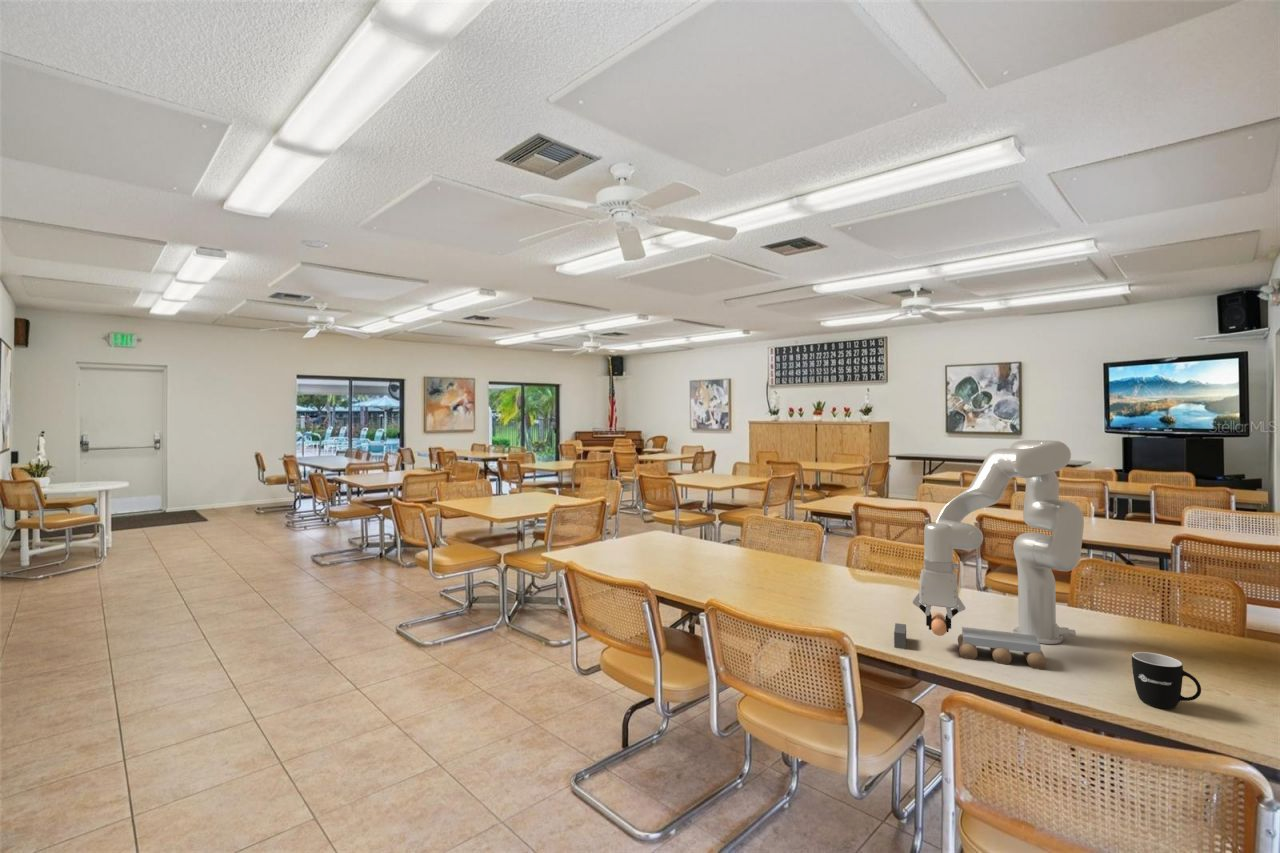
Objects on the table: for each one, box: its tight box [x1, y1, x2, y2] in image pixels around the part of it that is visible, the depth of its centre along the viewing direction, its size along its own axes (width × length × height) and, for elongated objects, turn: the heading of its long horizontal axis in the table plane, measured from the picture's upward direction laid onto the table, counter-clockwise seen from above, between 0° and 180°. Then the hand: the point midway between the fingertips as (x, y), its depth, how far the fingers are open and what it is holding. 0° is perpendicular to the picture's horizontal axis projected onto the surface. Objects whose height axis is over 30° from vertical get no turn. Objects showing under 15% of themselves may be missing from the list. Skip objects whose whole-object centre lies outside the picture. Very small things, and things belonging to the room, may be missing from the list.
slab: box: [961, 626, 1042, 654], centre depth 166 cm, size 18×9×2 cm, turn 64°
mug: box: [1131, 651, 1202, 709], centre depth 137 cm, size 12×9×10 cm
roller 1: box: [931, 612, 947, 637], centre depth 172 cm, size 10×4×4 cm, turn 154°
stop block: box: [893, 622, 907, 650], centre depth 177 cm, size 3×9×5 cm, turn 154°
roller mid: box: [989, 648, 1012, 666], centre depth 166 cm, size 10×4×4 cm, turn 154°
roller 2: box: [957, 633, 978, 661], centre depth 169 cm, size 10×4×4 cm, turn 154°
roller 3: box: [1022, 650, 1048, 671], centre depth 162 cm, size 10×4×4 cm, turn 154°
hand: (938, 629), depth 172 cm, fingers closed on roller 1, 3 cm apart
